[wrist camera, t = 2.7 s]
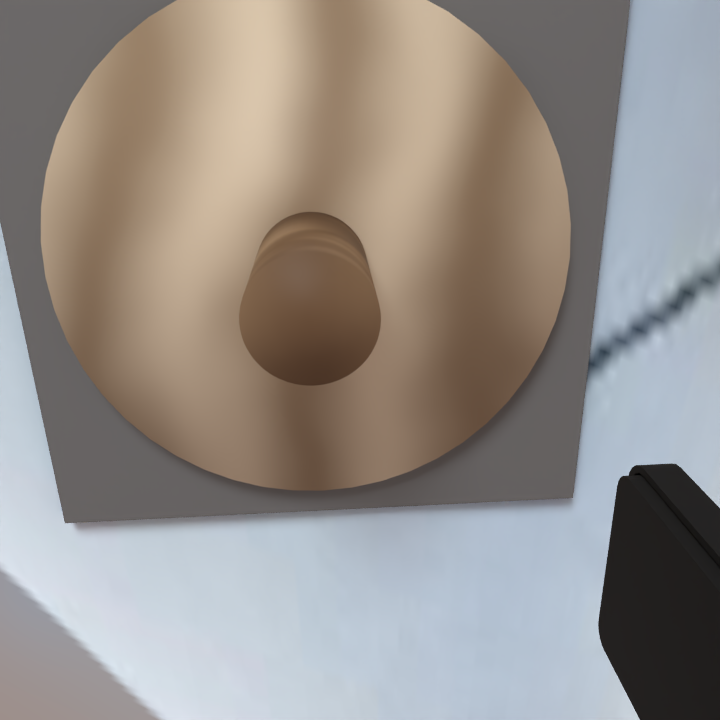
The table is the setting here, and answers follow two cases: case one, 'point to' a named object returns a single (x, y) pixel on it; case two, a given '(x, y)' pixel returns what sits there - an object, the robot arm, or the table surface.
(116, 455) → the mat
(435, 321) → the lid
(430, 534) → the table surface
